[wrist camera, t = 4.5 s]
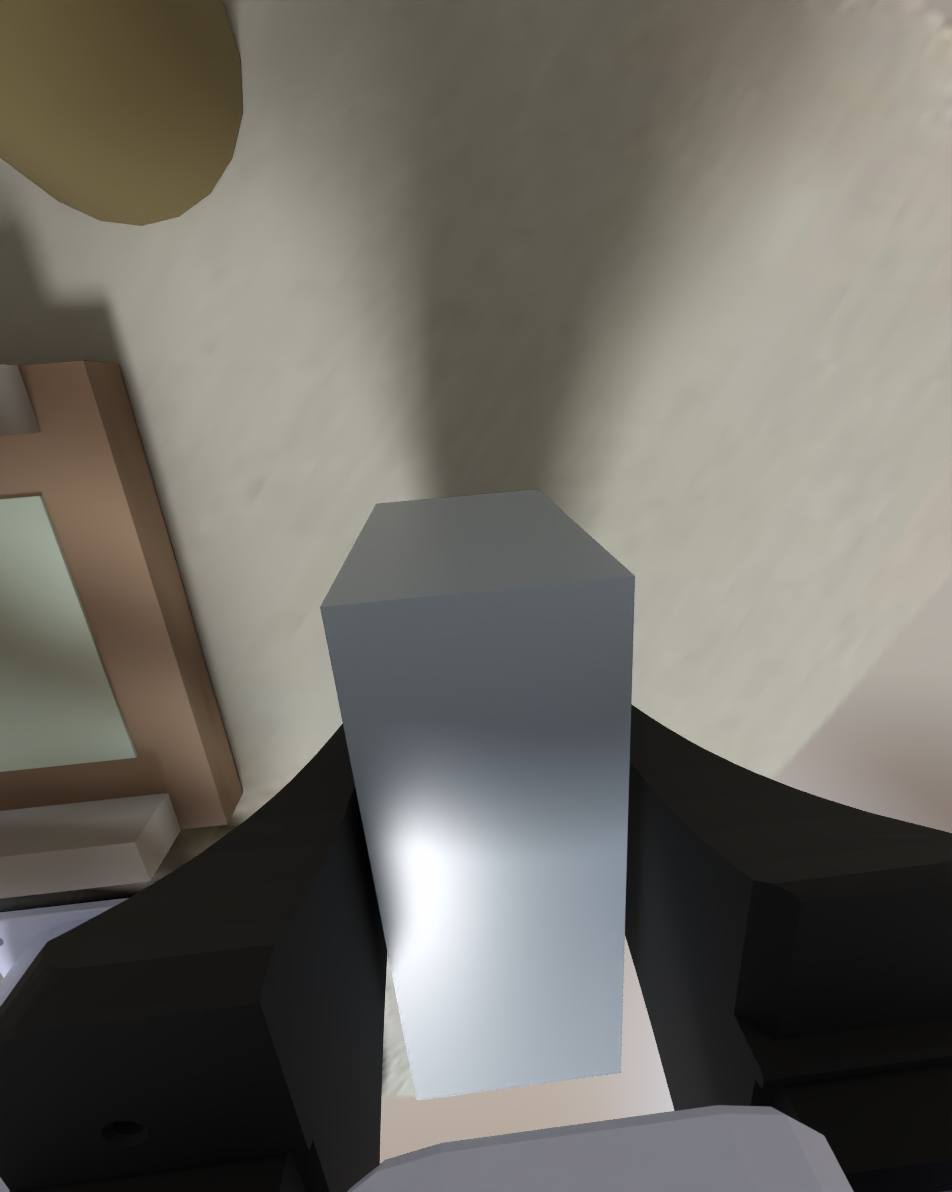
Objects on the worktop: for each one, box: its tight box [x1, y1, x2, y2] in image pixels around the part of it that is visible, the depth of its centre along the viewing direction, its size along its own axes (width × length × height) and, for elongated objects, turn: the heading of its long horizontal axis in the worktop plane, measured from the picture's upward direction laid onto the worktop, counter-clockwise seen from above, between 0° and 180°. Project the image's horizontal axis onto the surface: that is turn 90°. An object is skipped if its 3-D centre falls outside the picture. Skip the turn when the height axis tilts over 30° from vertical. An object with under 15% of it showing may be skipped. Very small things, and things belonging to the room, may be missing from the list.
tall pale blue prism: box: [320, 489, 635, 1100], centre depth 10 cm, size 9×4×6 cm, turn 4°
